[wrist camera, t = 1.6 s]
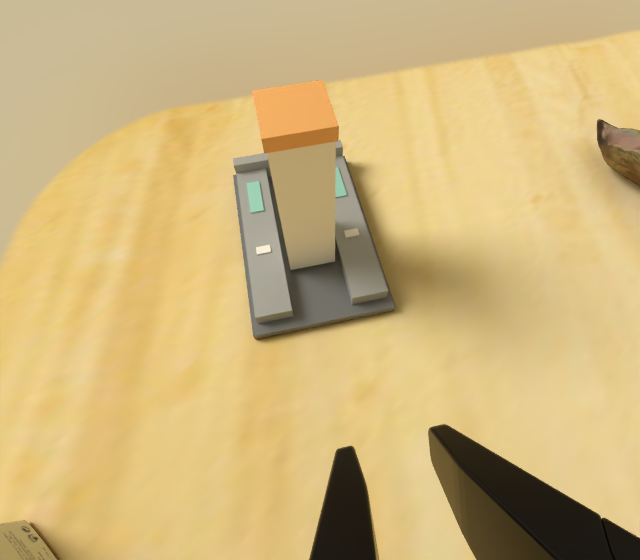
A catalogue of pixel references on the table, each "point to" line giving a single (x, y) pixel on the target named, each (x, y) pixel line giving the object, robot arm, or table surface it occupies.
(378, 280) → the console
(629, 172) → the ceramic sculpture
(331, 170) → the fader knob
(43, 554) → the skincare box
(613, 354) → the table surface
